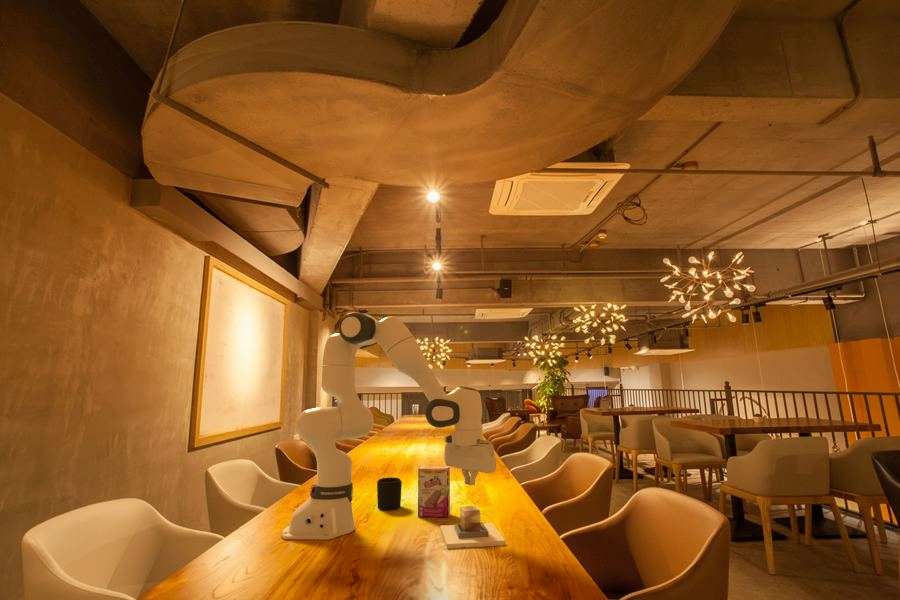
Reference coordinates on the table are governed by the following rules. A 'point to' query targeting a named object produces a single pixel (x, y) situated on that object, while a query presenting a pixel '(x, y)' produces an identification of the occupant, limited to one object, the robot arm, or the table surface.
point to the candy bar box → (434, 492)
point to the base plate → (471, 536)
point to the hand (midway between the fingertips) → (470, 484)
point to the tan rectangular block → (469, 518)
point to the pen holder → (389, 493)
